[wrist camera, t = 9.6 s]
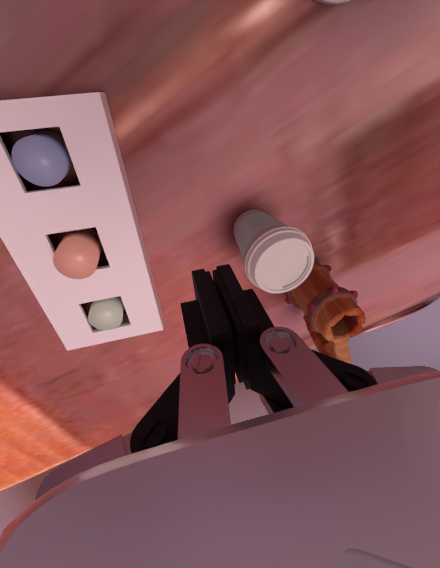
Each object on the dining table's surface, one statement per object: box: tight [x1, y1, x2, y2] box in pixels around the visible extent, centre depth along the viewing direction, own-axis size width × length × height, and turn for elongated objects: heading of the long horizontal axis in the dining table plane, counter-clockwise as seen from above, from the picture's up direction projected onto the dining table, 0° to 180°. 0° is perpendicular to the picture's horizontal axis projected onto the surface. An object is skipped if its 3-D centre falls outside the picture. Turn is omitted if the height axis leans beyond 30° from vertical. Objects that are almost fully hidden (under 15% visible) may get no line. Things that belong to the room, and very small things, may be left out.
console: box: [0, 92, 163, 351], centre depth 34 cm, size 30×14×5 cm, turn 5°
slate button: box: [12, 131, 73, 187], centre depth 28 cm, size 4×4×5 cm
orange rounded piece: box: [53, 228, 102, 279], centre depth 32 cm, size 4×4×5 cm
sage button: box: [88, 296, 124, 330], centre depth 40 cm, size 4×4×5 cm
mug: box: [285, 262, 366, 363], centre depth 44 cm, size 15×8×15 cm, turn 10°
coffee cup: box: [233, 209, 314, 293], centre depth 37 cm, size 8×8×12 cm
